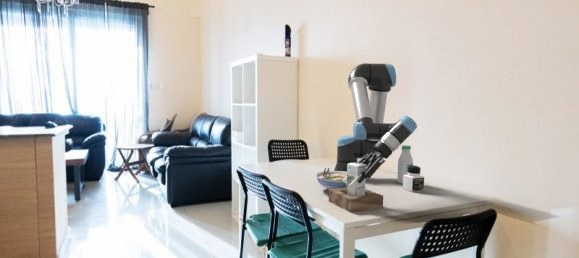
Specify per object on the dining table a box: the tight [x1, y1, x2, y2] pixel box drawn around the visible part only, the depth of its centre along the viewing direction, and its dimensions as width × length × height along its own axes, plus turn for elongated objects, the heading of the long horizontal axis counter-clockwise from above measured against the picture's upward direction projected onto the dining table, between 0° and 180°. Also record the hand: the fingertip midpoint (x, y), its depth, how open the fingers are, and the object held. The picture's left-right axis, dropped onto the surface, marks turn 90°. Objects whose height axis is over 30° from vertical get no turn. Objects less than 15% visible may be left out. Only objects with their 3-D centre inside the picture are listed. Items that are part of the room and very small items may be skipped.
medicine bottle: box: [402, 164, 425, 193], centre depth 177 cm, size 7×7×12 cm
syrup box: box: [347, 163, 367, 197], centre depth 149 cm, size 6×6×14 cm
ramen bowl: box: [314, 167, 347, 191], centre depth 172 cm, size 25×23×8 cm
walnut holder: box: [328, 188, 384, 213], centre depth 150 cm, size 16×16×5 cm
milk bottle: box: [396, 144, 414, 185], centre depth 191 cm, size 8×8×20 cm
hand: (348, 185), depth 149 cm, fingers closed on syrup box, 7 cm apart
